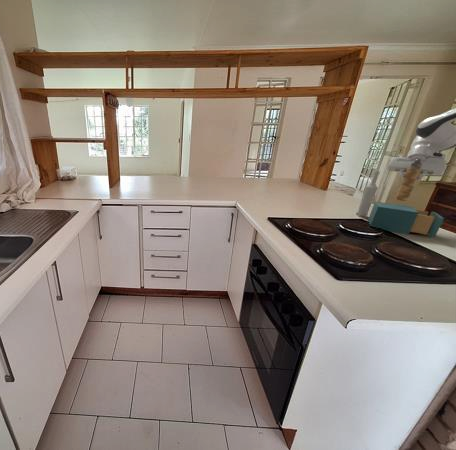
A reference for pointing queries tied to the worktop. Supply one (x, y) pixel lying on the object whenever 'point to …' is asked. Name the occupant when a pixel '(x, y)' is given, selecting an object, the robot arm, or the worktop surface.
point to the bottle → (368, 196)
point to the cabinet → (392, 217)
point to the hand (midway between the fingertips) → (410, 178)
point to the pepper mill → (409, 181)
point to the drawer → (427, 223)
